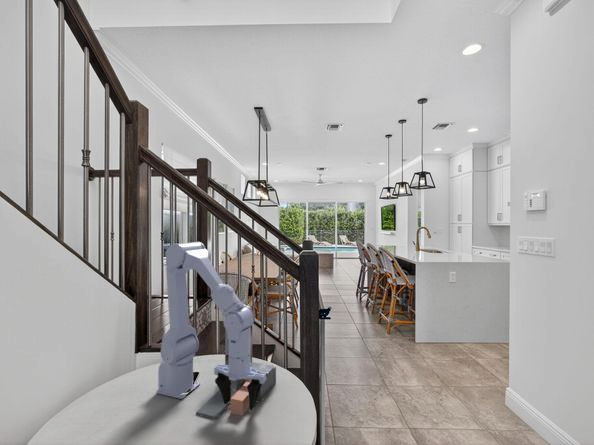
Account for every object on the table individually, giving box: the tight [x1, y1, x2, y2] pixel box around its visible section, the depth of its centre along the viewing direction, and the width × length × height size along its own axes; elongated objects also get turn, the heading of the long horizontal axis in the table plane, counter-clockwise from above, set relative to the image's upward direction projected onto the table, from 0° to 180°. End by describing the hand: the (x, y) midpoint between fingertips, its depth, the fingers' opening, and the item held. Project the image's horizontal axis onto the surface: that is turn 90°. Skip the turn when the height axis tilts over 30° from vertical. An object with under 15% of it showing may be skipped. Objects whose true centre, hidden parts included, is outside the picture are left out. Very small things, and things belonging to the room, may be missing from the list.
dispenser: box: [235, 362, 277, 403], centre depth 89 cm, size 8×11×6 cm
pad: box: [195, 389, 236, 420], centre depth 83 cm, size 6×12×1 cm, turn 161°
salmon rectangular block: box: [230, 382, 250, 416], centre depth 83 cm, size 4×11×4 cm, turn 162°
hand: (239, 404), depth 80 cm, fingers open, 7 cm apart
